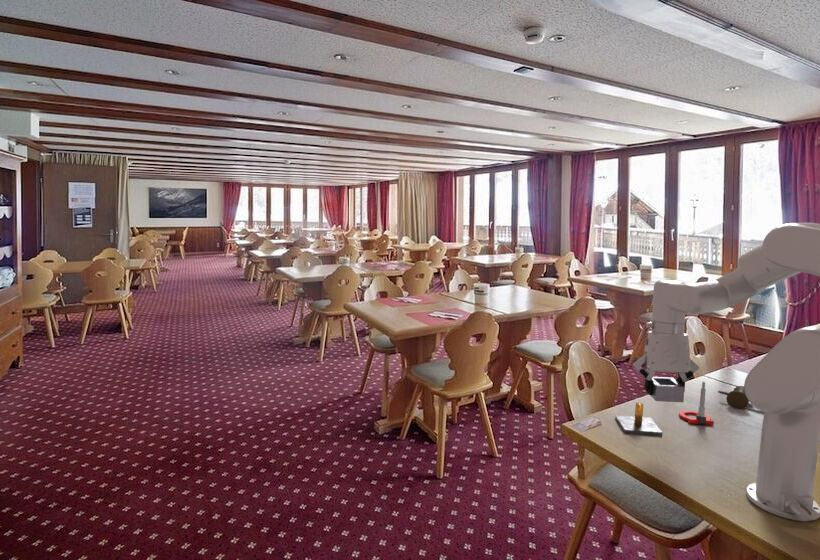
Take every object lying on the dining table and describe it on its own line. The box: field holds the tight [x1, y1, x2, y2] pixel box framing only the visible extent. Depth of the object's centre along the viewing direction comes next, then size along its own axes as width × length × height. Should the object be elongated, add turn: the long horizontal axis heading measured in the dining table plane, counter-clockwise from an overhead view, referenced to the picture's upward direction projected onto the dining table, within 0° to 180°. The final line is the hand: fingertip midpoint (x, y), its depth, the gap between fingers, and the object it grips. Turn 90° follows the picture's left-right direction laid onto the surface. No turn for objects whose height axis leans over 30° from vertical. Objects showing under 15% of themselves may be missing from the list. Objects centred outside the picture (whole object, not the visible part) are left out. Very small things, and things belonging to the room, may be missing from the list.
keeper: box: [615, 402, 663, 437], centre depth 140 cm, size 10×10×7 cm
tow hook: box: [678, 381, 715, 426], centre depth 145 cm, size 8×13×9 cm
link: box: [649, 376, 685, 403], centre depth 127 cm, size 8×7×4 cm
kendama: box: [717, 385, 750, 410], centre depth 154 cm, size 6×10×20 cm
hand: (664, 393), depth 127 cm, fingers closed on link, 6 cm apart
